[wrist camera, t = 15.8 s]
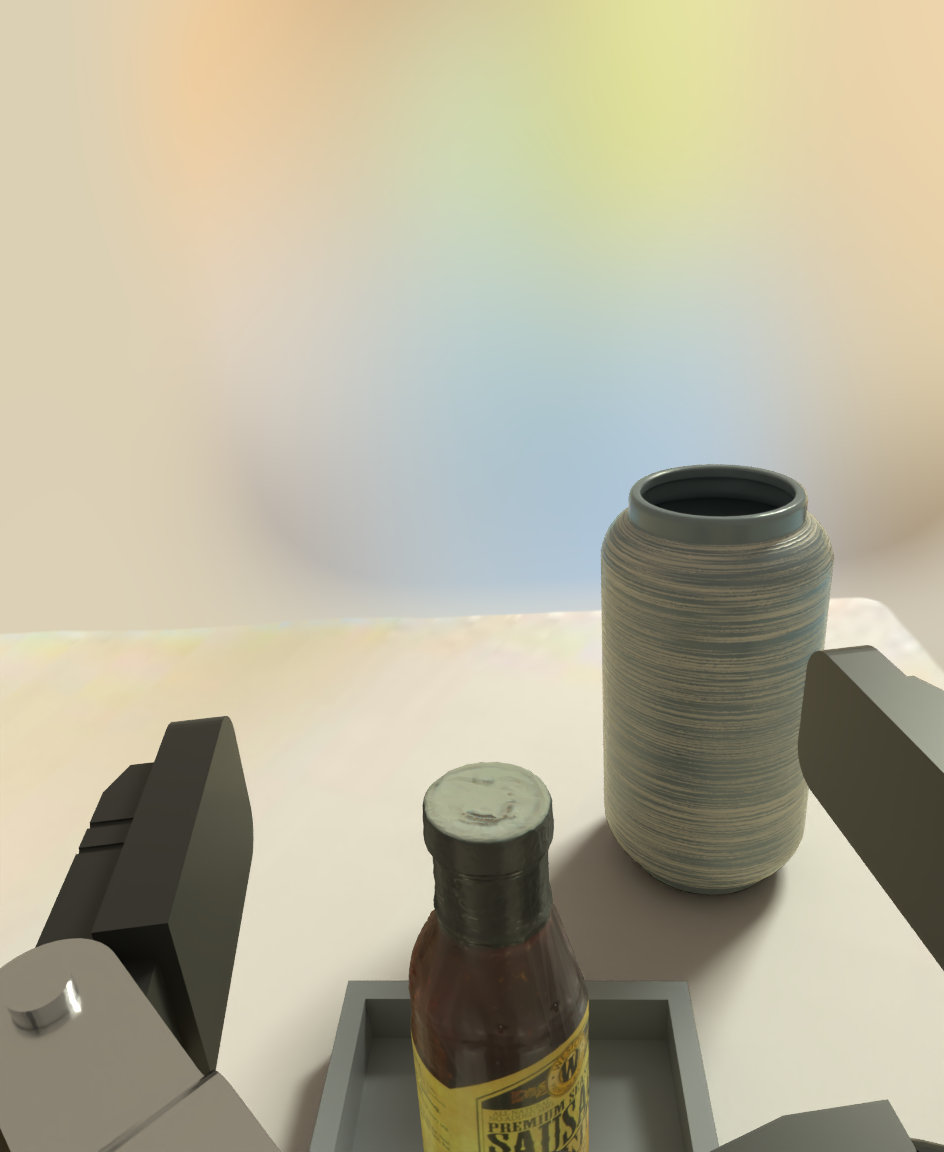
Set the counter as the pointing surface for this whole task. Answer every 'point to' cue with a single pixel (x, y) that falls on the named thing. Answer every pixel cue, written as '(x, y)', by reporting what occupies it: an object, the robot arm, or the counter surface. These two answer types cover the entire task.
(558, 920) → the sauce bottle
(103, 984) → the robot arm
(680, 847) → the vase
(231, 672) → the counter surface
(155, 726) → the counter surface
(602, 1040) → the tray
